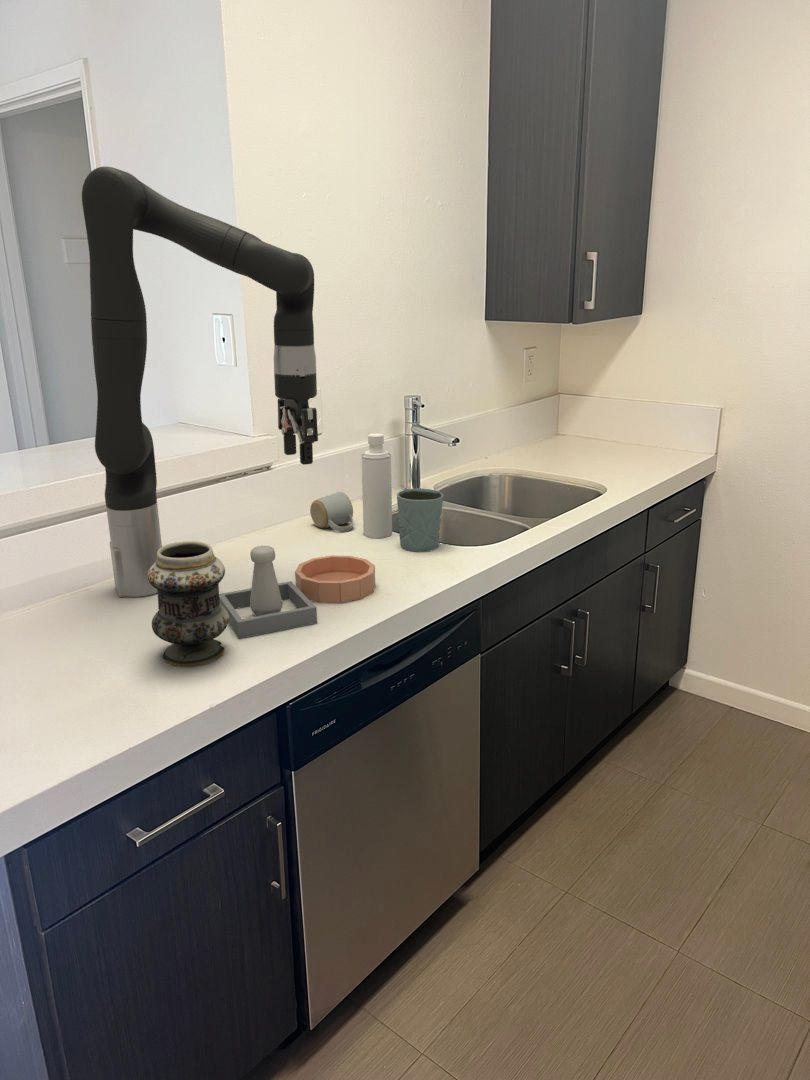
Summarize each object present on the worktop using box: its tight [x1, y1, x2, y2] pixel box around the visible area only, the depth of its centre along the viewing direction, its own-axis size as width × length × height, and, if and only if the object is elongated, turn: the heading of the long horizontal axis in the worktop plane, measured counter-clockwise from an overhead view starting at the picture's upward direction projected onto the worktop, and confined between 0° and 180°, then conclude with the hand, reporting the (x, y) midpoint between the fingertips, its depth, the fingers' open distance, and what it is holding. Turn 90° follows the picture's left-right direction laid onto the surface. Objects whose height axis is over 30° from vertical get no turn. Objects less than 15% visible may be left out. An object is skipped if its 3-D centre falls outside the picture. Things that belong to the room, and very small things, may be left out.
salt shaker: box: [249, 545, 283, 617], centre depth 146 cm, size 6×6×13 cm
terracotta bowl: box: [294, 554, 376, 604], centre depth 160 cm, size 15×15×4 cm
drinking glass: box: [396, 488, 444, 553], centre depth 182 cm, size 10×10×12 cm
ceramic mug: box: [309, 491, 354, 533], centre depth 197 cm, size 11×8×8 cm
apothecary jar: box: [148, 540, 229, 668], centre depth 131 cm, size 12×12×18 cm
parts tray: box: [219, 580, 318, 639], centre depth 148 cm, size 14×14×3 cm
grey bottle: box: [361, 432, 393, 539], centre depth 188 cm, size 7×7×25 cm
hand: (298, 459), depth 153 cm, fingers open, 8 cm apart
